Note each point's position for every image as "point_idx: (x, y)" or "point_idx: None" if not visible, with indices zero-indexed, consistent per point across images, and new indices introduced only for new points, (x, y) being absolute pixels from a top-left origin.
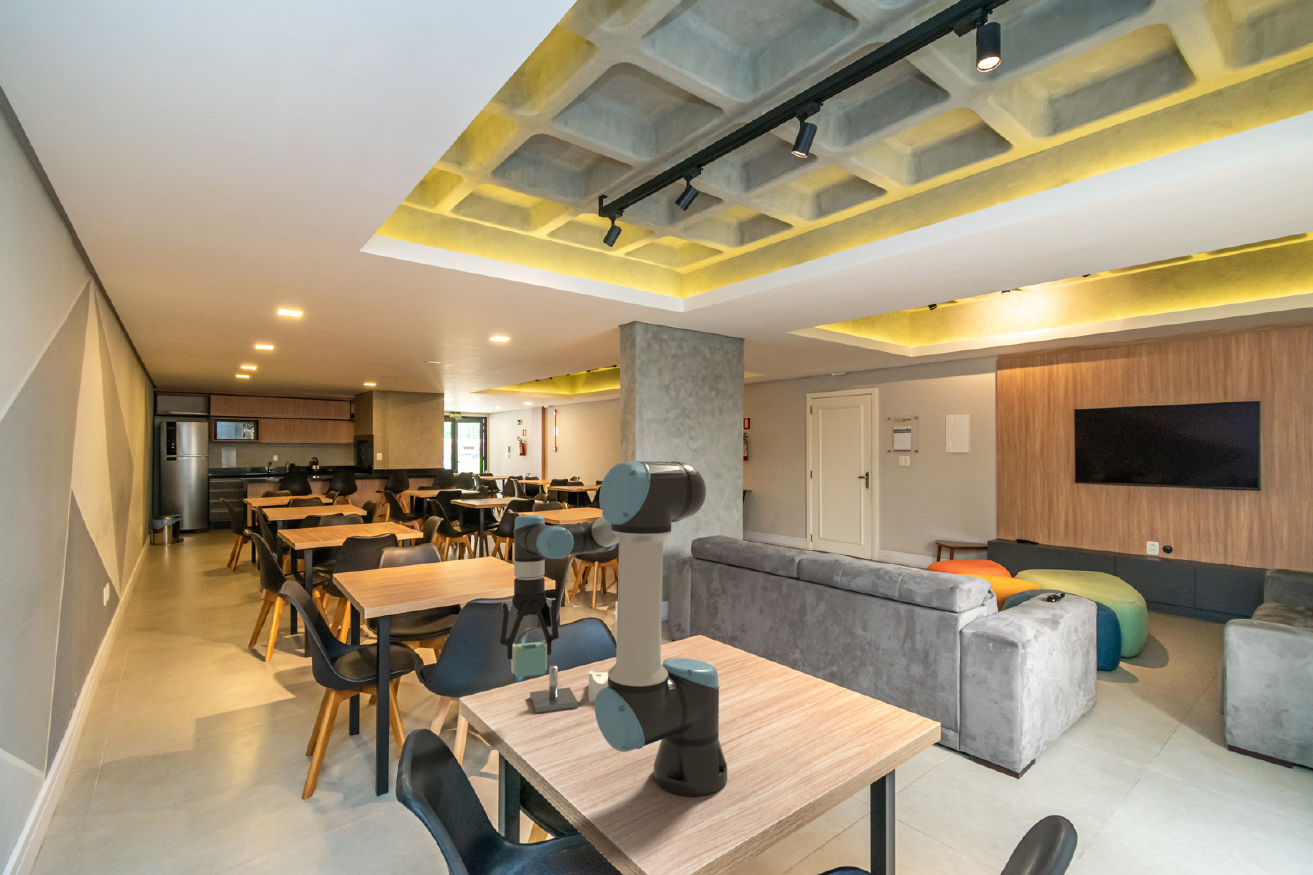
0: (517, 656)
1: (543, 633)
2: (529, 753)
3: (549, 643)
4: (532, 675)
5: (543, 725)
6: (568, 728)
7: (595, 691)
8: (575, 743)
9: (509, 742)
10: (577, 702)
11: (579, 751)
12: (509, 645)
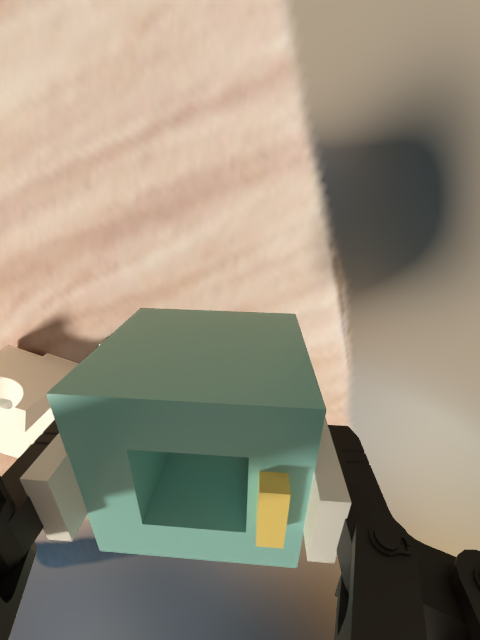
0: (309, 381)
1: (7, 624)
2: (269, 66)
3: (12, 482)
4: (209, 311)
5: (202, 262)
6: (136, 216)
7: (45, 371)
8: (120, 93)
9: (311, 180)
10: (100, 343)
11: (110, 15)
12: (387, 522)
